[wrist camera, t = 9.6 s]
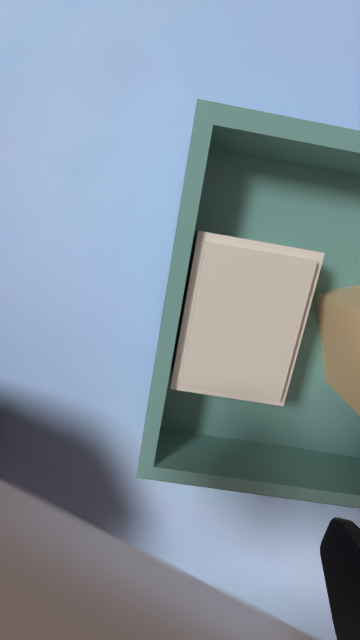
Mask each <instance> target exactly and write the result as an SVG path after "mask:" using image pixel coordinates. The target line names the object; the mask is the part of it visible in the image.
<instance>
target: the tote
mask: <svg viewBox="0 0 360 640" xmlns="http://www.w3.org/2000/svg"><path fill="white" fill-rule="evenodd" d="M195 231H203V232H209V233H214V234H220V235H226V236H231V237H237V238H243V239H248V240H254V241H260V242H265V243H271V244H277V245H282V246H288V247H294V248H299V249H305V250H311V251H316V252H322V253H325V254H324V258H323V262H322V265H321V269H320V273H319V276H318V280H317V284H316V288H315V291H314V295H313V299H312V302H311V306H310V310H309V313H308V317H307V321H306V324H305V328H304V332H303V336H302V339H301V343H300V347H299V350H298V354H297V358H296V361H295V365H294V369H293V372H292V376H291V380H290V384H289V387H288V391H287V395H286V398H285V402H284V406H278V405H272V404H265V403H259V402H252V401H246V400H239V399H232V398H226V397H219V396H213V395H206V394H199V393H193V392H186V391H180V390H173V389H170V382H171V365H172V359H173V353H174V347H175V342H176V336H177V330H178V325H179V319H180V313H181V307H182V302H183V296H184V290H185V285H186V279H187V273H188V268H189V262H190V256H191V250H192V245H193V239H194V233H195ZM356 285H360V131H358V130H353V129H348V128H343V127H338V126H333V125H327V124H322V123H317V122H312V121H307V120H302V119H297V118H292V117H287V116H282V115H277V114H271V113H266V112H261V111H256V110H251V109H246V108H241V107H236V106H231V105H226V104H221V103H215V102H210V101H205V100H200V99H197V105H196V111H195V117H194V123H193V129H192V136H191V142H190V148H189V154H188V160H187V166H186V173H185V179H184V185H183V191H182V197H181V204H180V210H179V216H178V222H177V228H176V234H175V241H174V247H173V253H172V259H171V265H170V272H169V278H168V284H167V290H166V296H165V302H164V309H163V315H162V321H161V327H160V333H159V339H158V346H157V352H156V358H155V364H154V370H153V377H152V383H151V389H150V395H149V401H148V407H147V414H146V420H145V426H144V432H143V438H142V445H141V451H140V457H139V463H138V469H137V475H136V478H142V479H149V480H156V481H164V482H171V483H178V484H186V485H193V486H200V487H207V488H215V489H222V490H229V491H236V492H244V493H251V494H258V495H266V496H273V497H280V498H287V499H295V500H302V501H309V502H316V503H324V504H331V505H338V506H346V507H353V508H360V416H359V415H358V414H357V413H356V412H355V411H354V410H353V409H352V408H351V407H350V406H349V405H348V404H347V403H346V402H345V401H344V400H343V399H342V398H341V397H340V396H339V395H338V394H337V393H336V392H335V391H334V390H333V389H332V388H331V387H330V385H329V384H328V383H327V382H326V381H325V378H324V368H323V358H322V348H321V339H320V329H319V319H318V309H317V300H316V293H320V292H325V291H330V290H335V289H341V288H346V287H351V286H356Z"/></svg>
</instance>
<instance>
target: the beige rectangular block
mask: <svg viewBox="0 0 360 640" xmlns="http://www.w3.org/2000/svg"><path fill="white" fill-rule="evenodd" d="M324 254H325V253H322V252H316V251H311V250H305V249H299V248H294V247H288V246H282V245H277V244H271V243H265V242H260V241H254V240H248V239H243V238H237V237H231V236H226V235H220V234H214V233H209V232H203V231H195V233H194V239H193V245H192V250H191V256H190V262H189V268H188V273H187V279H186V285H185V290H184V296H183V302H182V307H181V313H180V319H179V325H178V330H177V336H176V342H175V347H174V353H173V359H172V365H171V382H170V389H173V390H180V391H186V392H193V393H199V394H206V395H213V396H219V397H226V398H232V399H239V400H246V401H252V402H259V403H265V404H272V405H278V406H284V402H285V398H286V395H287V391H288V387H289V384H290V380H291V376H292V372H293V369H294V365H295V361H296V358H297V354H298V350H299V347H300V343H301V339H302V336H303V332H304V328H305V324H306V321H307V317H308V313H309V310H310V306H311V302H312V299H313V295H314V291H315V288H316V284H317V280H318V276H319V273H320V269H321V265H322V262H323V258H324Z"/></svg>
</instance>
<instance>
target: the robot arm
mask: <svg viewBox="0 0 360 640" xmlns="http://www.w3.org/2000/svg"><path fill="white" fill-rule="evenodd" d="M320 555H321V561H322V566H323V571H324V577H325V582H326V587H327V592H328V598H329V603H330V608H331V614H332V619H333V624H334V628H335V633H336V637H337V640H360V528H359V527H358V526H357V525H356V524H354V523H353V522H352V521H350V520H346V519H341V518H333V519H332V520H331V521H330V523H329V526H328V528H327V530H326V532H325V535H324V537H323V539H322V542H321V546H320Z"/></svg>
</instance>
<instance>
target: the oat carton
mask: <svg viewBox="0 0 360 640" xmlns="http://www.w3.org/2000/svg"><path fill="white" fill-rule="evenodd" d="M316 300H317V309H318V319H319V329H320V339H321V348H322V358H323V368H324V378H325V381H326V382H327V383H328V384H329V385H330V387H331V388H332V389H333V390H334V391H335V392H336V393H337V394H338V395H339V396H340V397H341V398H342V399H343V400H344V401H345V402H346V403H347V404H348V405H349V406H350V407H351V408H352V409H353V410H354V411H355V412H356V413H357V414H358V415H359V416H360V285H356V286H351V287H346V288H341V289H335V290H330V291H325V292H320V293H316Z"/></svg>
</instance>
